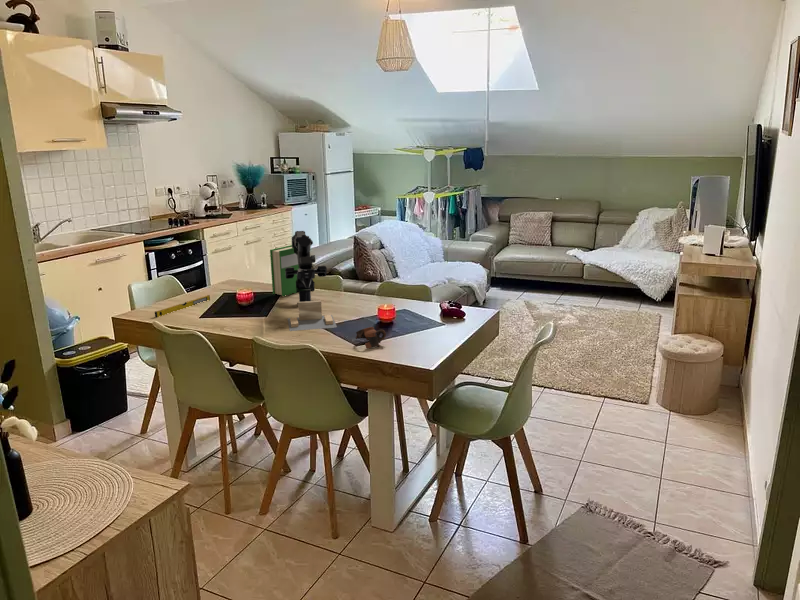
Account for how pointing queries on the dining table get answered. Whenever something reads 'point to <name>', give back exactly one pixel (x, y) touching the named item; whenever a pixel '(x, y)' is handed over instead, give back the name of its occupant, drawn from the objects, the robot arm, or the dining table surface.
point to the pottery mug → (371, 336)
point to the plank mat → (311, 323)
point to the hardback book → (283, 270)
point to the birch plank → (310, 310)
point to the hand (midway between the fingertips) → (307, 287)
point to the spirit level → (181, 306)
